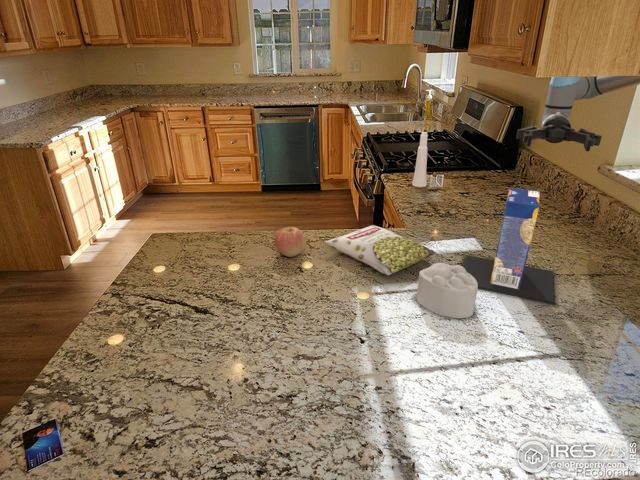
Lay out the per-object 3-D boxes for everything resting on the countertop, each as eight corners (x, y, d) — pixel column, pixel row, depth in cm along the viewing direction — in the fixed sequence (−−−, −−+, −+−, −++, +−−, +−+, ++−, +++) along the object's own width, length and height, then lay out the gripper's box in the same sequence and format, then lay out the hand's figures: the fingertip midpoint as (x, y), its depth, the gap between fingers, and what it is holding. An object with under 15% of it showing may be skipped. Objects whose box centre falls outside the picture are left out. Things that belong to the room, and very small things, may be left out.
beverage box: (521, 269, 114) (539, 191, 104) (519, 289, 105) (539, 206, 95) (494, 264, 116) (509, 187, 107) (490, 283, 107) (506, 201, 98)
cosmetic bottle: (418, 181, 183) (423, 130, 173) (429, 185, 178) (435, 132, 169) (408, 184, 179) (413, 132, 170) (420, 188, 175) (425, 134, 165)
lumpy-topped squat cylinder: (437, 284, 108) (441, 254, 104) (483, 307, 99) (489, 275, 95) (410, 299, 102) (414, 268, 98) (457, 325, 93) (463, 291, 89)
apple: (286, 264, 118) (285, 238, 115) (269, 252, 124) (267, 228, 121) (311, 254, 123) (310, 229, 120) (293, 244, 129) (292, 220, 126)
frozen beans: (389, 265, 105) (322, 233, 122) (387, 285, 107) (322, 251, 124) (439, 243, 117) (372, 216, 134) (436, 261, 120) (371, 233, 137)
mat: (552, 272, 113) (552, 270, 113) (553, 304, 100) (554, 302, 100) (466, 256, 121) (466, 255, 121) (457, 283, 108) (457, 281, 108)
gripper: (512, 112, 129) (508, 125, 112) (608, 118, 120) (620, 132, 102) (508, 137, 132) (503, 153, 115) (600, 144, 123) (611, 163, 106)
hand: (558, 143), depth 109 cm, fingers open, 13 cm apart
